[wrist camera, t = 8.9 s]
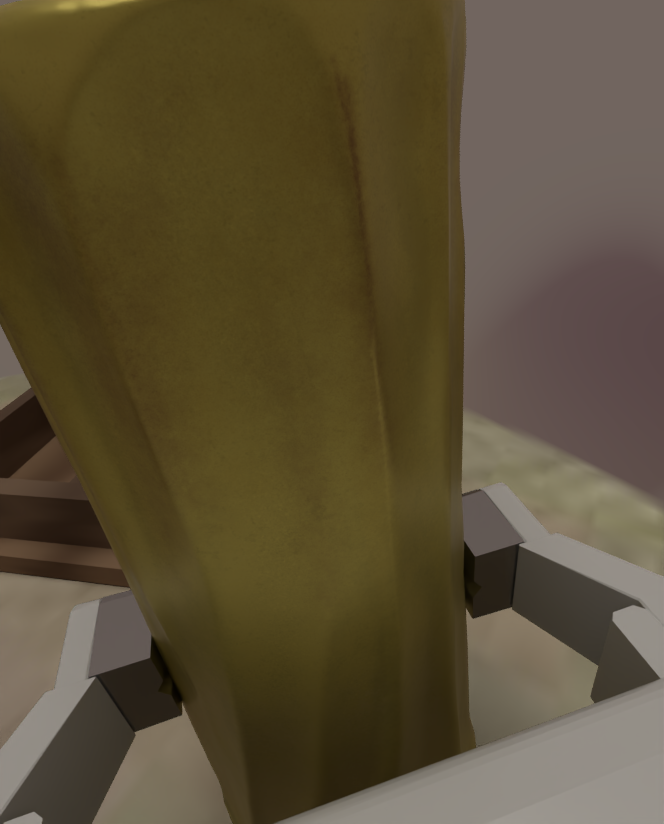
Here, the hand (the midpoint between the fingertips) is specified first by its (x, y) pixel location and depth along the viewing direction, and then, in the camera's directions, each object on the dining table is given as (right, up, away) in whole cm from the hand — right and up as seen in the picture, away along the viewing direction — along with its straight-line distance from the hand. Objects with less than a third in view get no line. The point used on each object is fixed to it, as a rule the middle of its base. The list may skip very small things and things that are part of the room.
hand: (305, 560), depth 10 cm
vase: (+1, -5, +2) cm, 6 cm away
